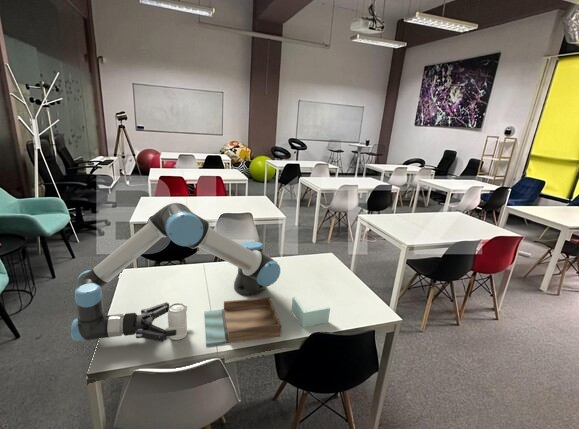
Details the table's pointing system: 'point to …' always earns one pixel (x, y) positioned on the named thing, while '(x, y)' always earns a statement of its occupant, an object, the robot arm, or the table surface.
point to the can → (177, 319)
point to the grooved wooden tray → (242, 321)
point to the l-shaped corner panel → (309, 314)
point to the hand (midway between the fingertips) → (186, 318)
